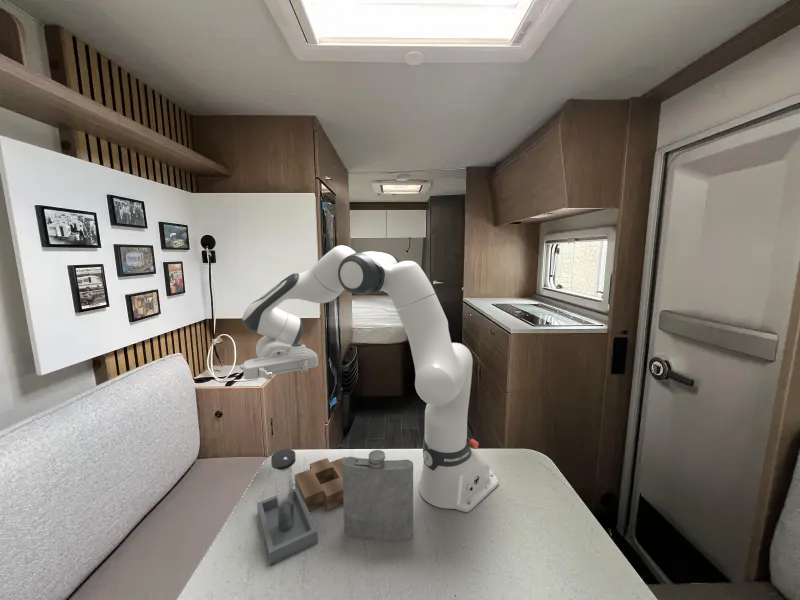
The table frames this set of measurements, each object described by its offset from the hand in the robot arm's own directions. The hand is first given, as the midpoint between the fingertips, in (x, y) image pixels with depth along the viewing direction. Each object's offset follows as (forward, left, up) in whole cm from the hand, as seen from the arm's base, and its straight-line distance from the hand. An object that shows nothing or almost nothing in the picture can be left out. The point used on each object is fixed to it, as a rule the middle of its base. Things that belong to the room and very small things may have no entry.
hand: (287, 372), depth 87 cm
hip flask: (-12, +28, -32) cm, 44 cm away
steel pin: (+6, +15, -31) cm, 35 cm away
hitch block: (-7, +8, -32) cm, 34 cm away
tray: (+6, +15, -32) cm, 36 cm away
